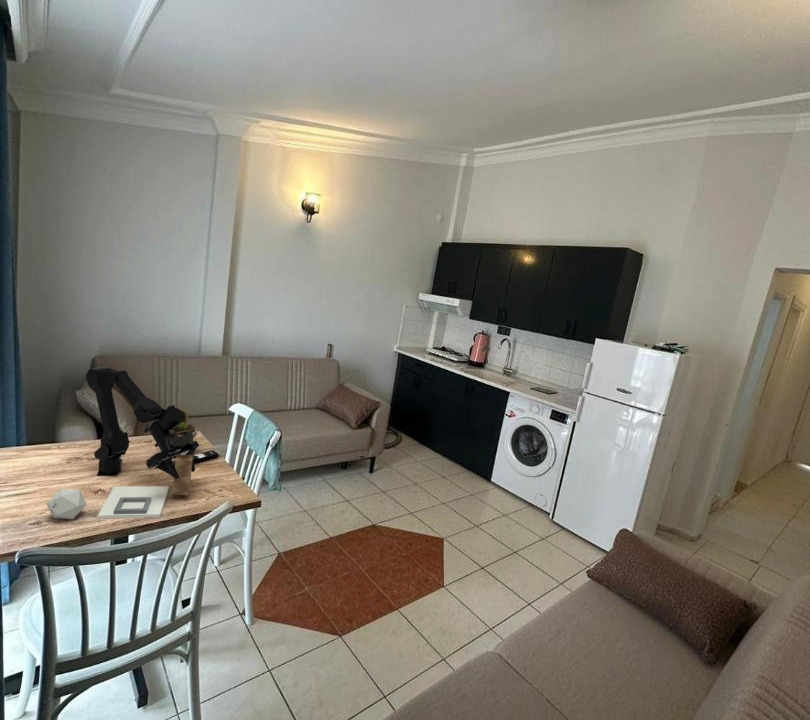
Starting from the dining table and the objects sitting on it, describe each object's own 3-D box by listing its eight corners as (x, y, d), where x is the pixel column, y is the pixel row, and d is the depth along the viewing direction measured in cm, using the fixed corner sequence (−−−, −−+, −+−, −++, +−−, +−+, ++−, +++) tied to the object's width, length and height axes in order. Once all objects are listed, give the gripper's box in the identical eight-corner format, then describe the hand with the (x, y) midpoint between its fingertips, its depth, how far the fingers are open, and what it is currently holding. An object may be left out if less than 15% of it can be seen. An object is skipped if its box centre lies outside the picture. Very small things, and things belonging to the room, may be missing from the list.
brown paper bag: (172, 494, 157) (175, 460, 155) (174, 488, 161) (177, 454, 159) (188, 494, 158) (191, 460, 157) (189, 488, 163) (192, 455, 161)
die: (48, 513, 139) (36, 498, 132) (78, 492, 145) (68, 477, 138) (65, 531, 137) (54, 516, 130) (95, 509, 143) (86, 494, 136)
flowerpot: (189, 461, 189) (193, 415, 186) (149, 458, 187) (153, 410, 184) (199, 449, 203) (204, 405, 200) (163, 445, 201) (166, 401, 198)
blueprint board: (97, 518, 140) (97, 511, 139) (113, 489, 158) (114, 483, 158) (159, 517, 146) (160, 510, 145) (168, 489, 164) (169, 483, 164)
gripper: (155, 431, 149) (180, 472, 147) (197, 419, 166) (219, 455, 165) (135, 448, 152) (158, 488, 151) (178, 434, 170) (199, 470, 168)
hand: (186, 474), depth 159 cm, fingers closed on brown paper bag, 7 cm apart
